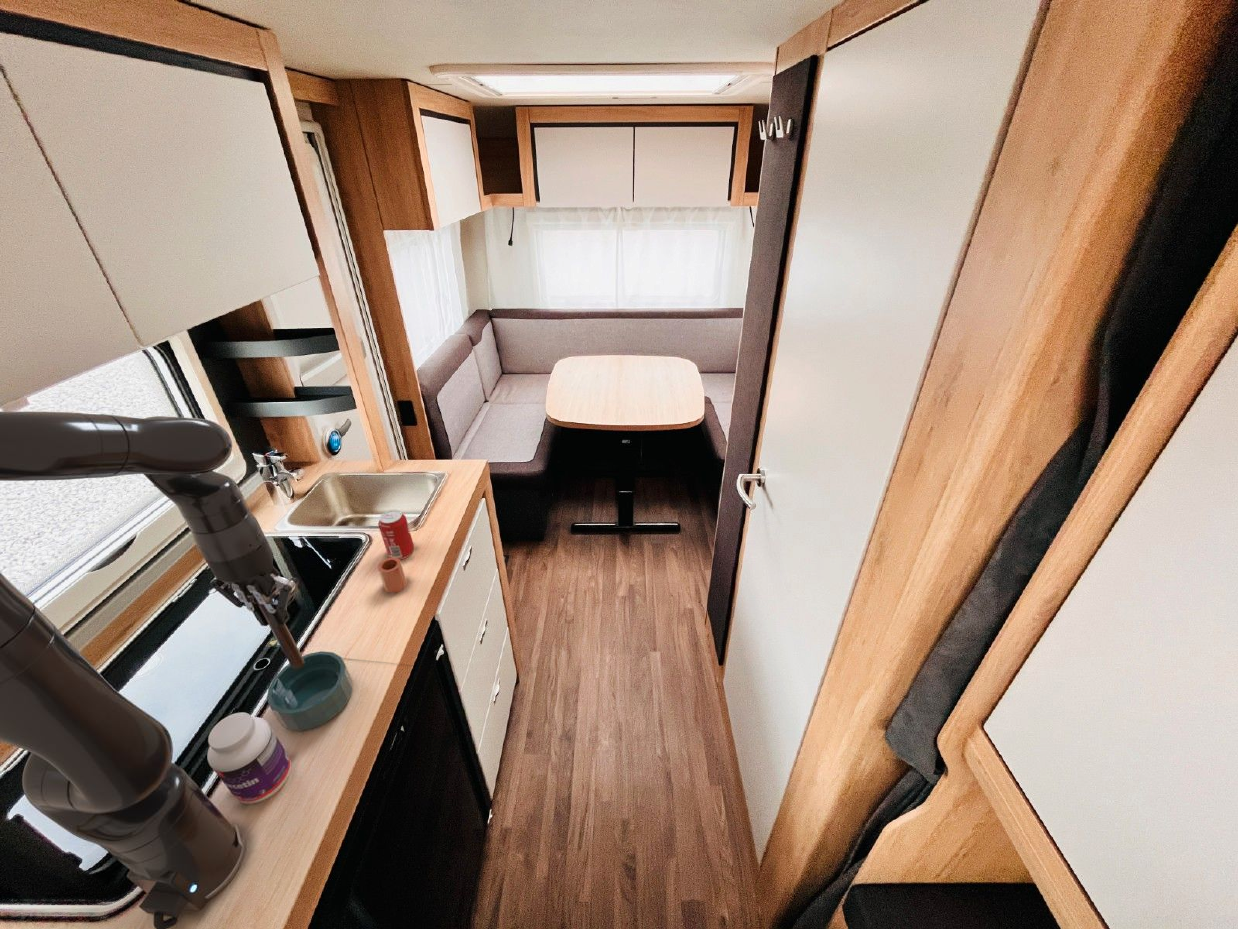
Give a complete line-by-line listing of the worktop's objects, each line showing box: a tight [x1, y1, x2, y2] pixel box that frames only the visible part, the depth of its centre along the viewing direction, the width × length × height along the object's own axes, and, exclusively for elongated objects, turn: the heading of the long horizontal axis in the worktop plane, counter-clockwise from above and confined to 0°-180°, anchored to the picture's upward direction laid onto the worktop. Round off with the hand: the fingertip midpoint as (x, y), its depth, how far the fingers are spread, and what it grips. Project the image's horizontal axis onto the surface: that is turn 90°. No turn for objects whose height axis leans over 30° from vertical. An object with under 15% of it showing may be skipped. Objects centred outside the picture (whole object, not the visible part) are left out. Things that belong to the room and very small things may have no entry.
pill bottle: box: [206, 711, 292, 805], centre depth 79 cm, size 8×8×14 cm
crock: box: [377, 557, 408, 594], centre depth 117 cm, size 5×5×7 cm
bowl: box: [266, 651, 354, 732], centre depth 93 cm, size 12×13×6 cm
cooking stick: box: [257, 599, 305, 669], centre depth 85 cm, size 2×2×16 cm
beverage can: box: [377, 509, 415, 560], centre depth 125 cm, size 6×6×12 cm
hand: (275, 622), depth 83 cm, fingers closed on cooking stick, 2 cm apart
